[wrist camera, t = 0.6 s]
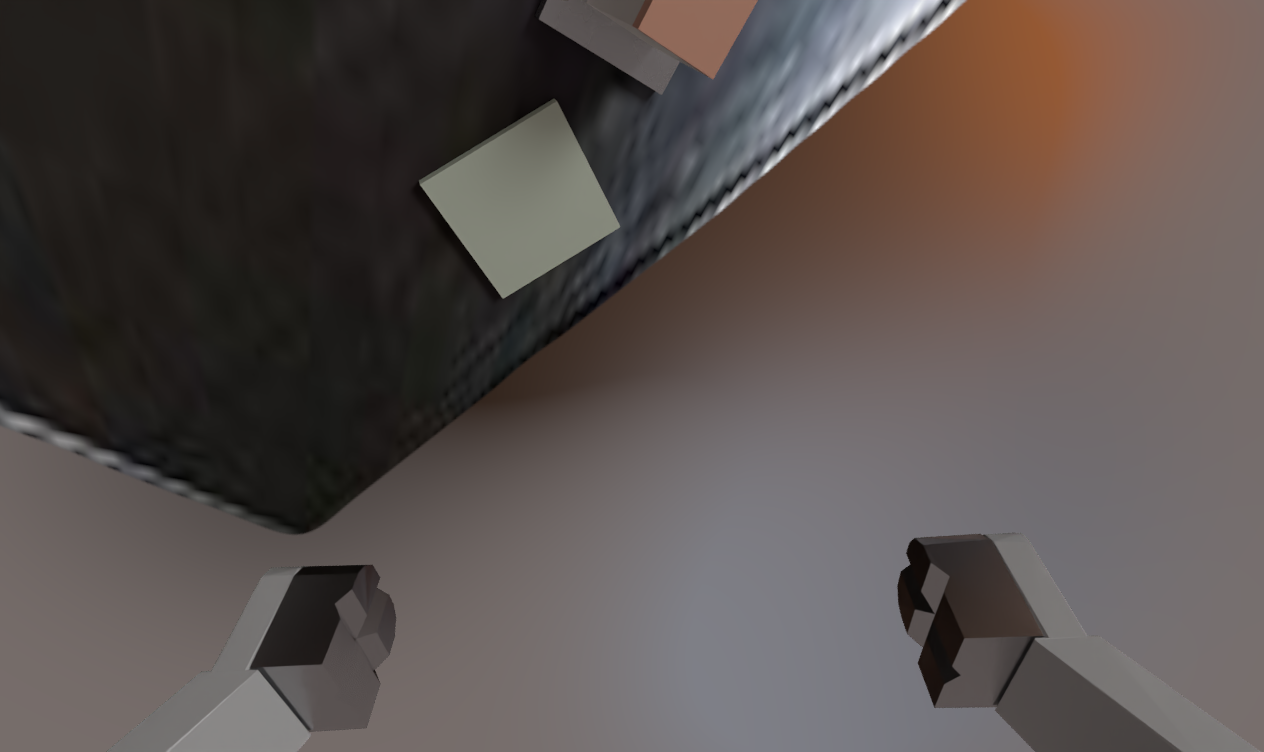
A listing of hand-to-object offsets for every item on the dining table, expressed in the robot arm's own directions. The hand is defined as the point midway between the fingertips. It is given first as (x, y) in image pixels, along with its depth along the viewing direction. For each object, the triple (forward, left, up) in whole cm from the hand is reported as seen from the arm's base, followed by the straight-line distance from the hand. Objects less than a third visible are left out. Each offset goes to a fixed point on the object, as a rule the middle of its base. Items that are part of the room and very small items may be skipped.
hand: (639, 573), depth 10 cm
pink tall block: (+5, +17, -44) cm, 47 cm away
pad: (+15, +2, -45) cm, 47 cm away
